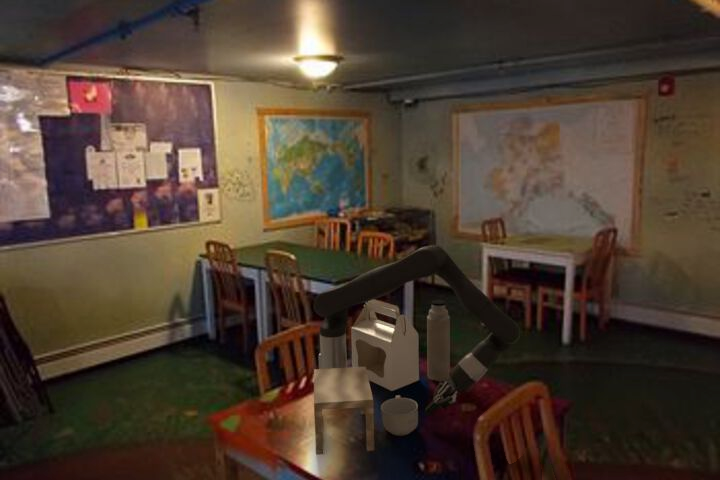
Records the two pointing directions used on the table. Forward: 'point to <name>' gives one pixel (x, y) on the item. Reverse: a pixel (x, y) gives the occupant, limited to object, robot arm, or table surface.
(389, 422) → the teacup
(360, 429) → the table surface
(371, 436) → the miniature side table
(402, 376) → the gable box
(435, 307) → the thermos bottle
